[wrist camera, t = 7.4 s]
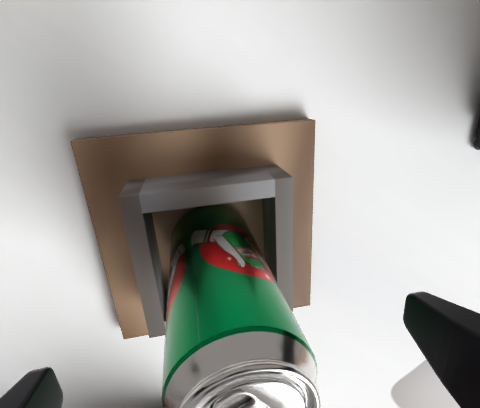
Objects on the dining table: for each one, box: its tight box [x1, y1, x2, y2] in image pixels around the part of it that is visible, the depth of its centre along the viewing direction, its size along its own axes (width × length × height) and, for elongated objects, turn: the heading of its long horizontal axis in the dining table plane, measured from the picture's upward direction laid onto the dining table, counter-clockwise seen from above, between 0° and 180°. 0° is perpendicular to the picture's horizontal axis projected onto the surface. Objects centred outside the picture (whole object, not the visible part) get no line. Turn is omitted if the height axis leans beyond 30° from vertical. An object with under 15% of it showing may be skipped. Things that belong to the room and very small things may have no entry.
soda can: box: [162, 204, 320, 408], centre depth 14 cm, size 5×5×12 cm
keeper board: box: [71, 119, 315, 339], centre depth 19 cm, size 14×14×4 cm
